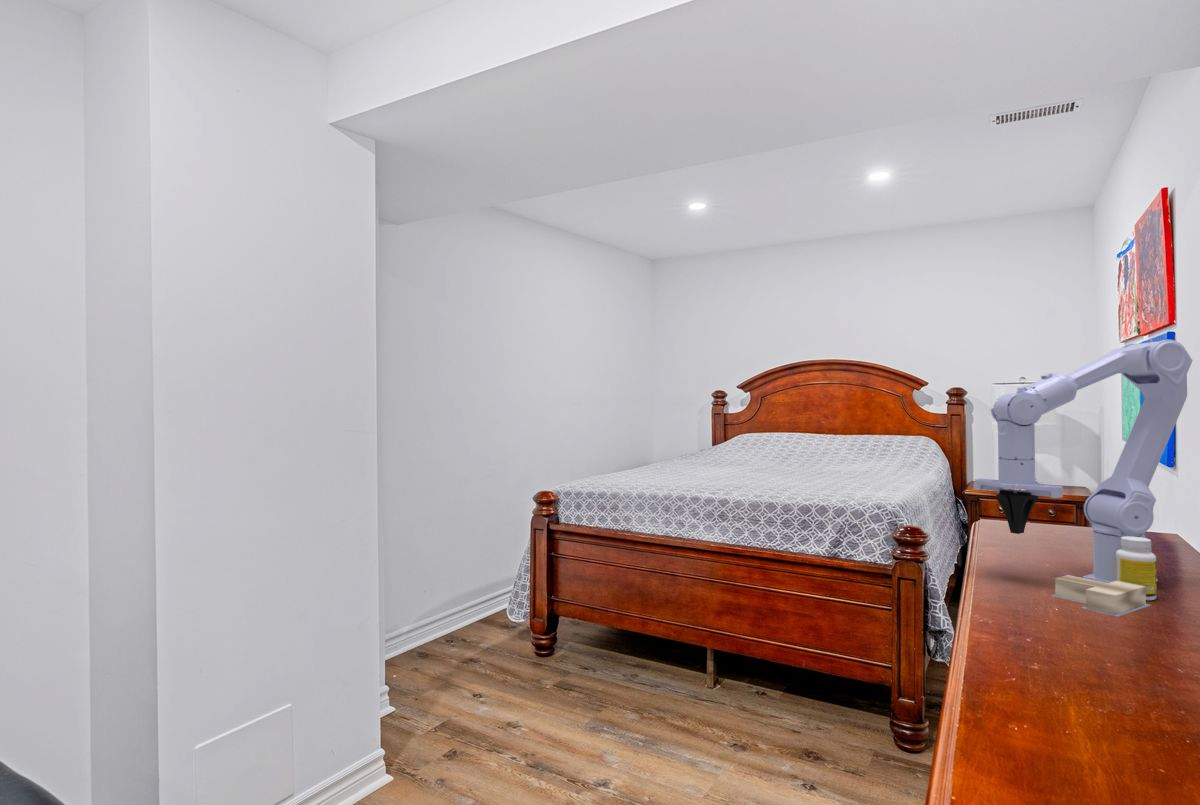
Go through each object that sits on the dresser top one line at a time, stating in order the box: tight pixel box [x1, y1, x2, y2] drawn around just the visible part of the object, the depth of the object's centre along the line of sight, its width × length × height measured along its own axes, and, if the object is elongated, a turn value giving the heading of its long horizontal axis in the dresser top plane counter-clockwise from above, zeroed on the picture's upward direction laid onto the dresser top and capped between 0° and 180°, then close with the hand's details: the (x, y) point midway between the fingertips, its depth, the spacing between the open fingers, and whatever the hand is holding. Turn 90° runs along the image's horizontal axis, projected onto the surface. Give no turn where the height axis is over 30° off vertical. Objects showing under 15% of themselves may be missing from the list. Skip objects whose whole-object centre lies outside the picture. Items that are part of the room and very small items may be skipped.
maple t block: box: [1054, 574, 1147, 615], centre depth 110 cm, size 10×10×3 cm
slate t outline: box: [1050, 594, 1152, 618], centre depth 110 cm, size 11×11×1 cm
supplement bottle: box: [1116, 536, 1158, 601], centre depth 113 cm, size 5×5×10 cm
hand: (1017, 532), depth 123 cm, fingers closed
